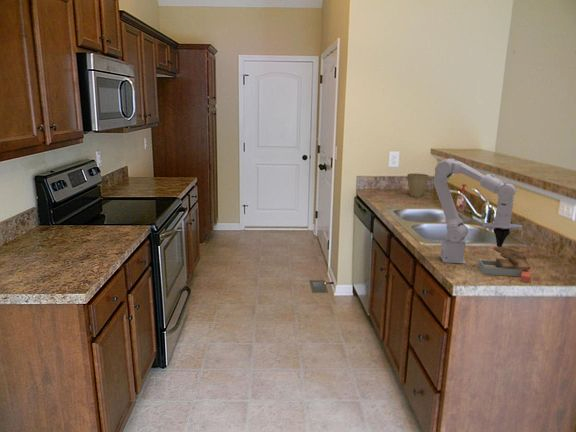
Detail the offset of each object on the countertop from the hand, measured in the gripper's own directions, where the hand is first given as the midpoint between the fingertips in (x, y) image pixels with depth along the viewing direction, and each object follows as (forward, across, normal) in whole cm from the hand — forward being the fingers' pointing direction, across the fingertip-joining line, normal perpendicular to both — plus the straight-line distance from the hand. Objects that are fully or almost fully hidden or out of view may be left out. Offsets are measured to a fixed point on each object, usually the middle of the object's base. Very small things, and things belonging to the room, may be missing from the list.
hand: (499, 246), depth 185 cm
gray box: (+10, 0, -3) cm, 10 cm away
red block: (+10, +8, -9) cm, 16 cm away
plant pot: (+10, -13, +152) cm, 153 cm away
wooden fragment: (+10, +13, +20) cm, 26 cm away
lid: (+7, +5, -3) cm, 9 cm away
